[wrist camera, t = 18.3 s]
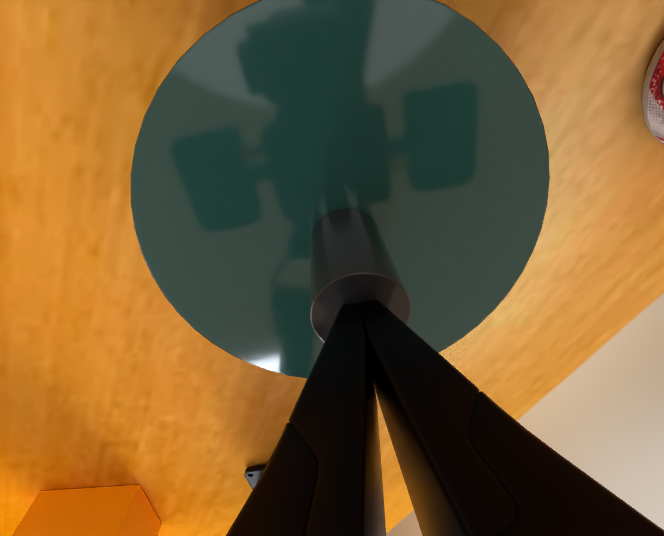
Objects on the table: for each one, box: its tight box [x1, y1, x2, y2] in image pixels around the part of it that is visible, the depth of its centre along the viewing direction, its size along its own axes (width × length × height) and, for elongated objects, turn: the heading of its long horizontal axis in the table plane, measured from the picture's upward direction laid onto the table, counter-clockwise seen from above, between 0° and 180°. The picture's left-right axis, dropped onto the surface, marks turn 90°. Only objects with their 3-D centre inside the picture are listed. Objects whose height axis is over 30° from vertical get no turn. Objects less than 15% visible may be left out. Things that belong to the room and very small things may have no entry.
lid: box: [131, 0, 550, 378], centre depth 10 cm, size 14×14×5 cm
